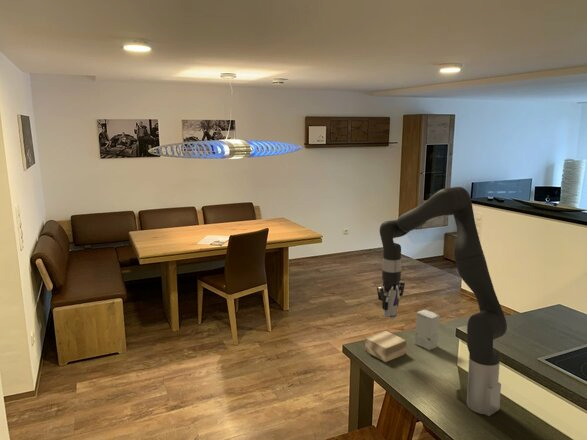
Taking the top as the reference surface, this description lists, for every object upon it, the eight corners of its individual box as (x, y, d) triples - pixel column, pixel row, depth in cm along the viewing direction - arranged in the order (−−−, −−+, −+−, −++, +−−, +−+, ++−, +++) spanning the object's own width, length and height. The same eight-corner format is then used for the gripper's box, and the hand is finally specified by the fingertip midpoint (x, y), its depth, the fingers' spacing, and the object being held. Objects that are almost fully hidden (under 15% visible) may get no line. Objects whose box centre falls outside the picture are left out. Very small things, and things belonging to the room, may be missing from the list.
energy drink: (399, 315, 182) (400, 288, 180) (392, 319, 178) (393, 291, 176) (387, 312, 186) (388, 285, 184) (381, 316, 182) (381, 288, 180)
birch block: (406, 353, 184) (406, 340, 183) (385, 362, 178) (385, 348, 177) (385, 343, 194) (385, 330, 193) (365, 350, 188) (365, 337, 187)
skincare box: (414, 344, 193) (415, 311, 190) (422, 340, 197) (423, 308, 194) (430, 350, 186) (431, 317, 184) (439, 346, 190) (440, 314, 187)
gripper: (385, 274, 171) (384, 315, 174) (410, 267, 179) (409, 307, 182) (372, 269, 177) (371, 309, 181) (397, 263, 185) (395, 301, 188)
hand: (390, 308), depth 181 cm, fingers closed on energy drink, 5 cm apart
